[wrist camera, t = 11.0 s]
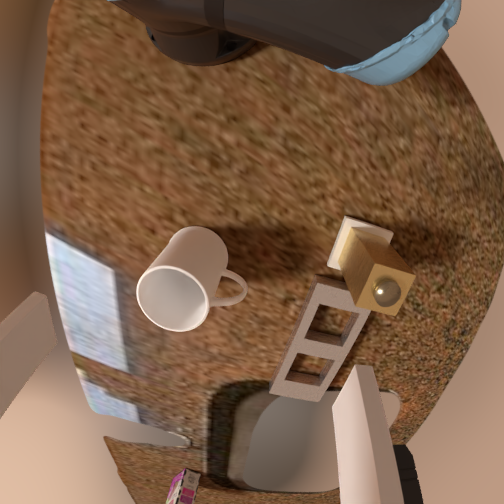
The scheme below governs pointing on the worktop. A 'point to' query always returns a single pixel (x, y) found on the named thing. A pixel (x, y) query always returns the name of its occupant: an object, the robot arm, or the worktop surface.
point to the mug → (186, 280)
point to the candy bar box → (184, 488)
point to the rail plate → (317, 342)
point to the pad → (344, 232)
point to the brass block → (374, 272)
